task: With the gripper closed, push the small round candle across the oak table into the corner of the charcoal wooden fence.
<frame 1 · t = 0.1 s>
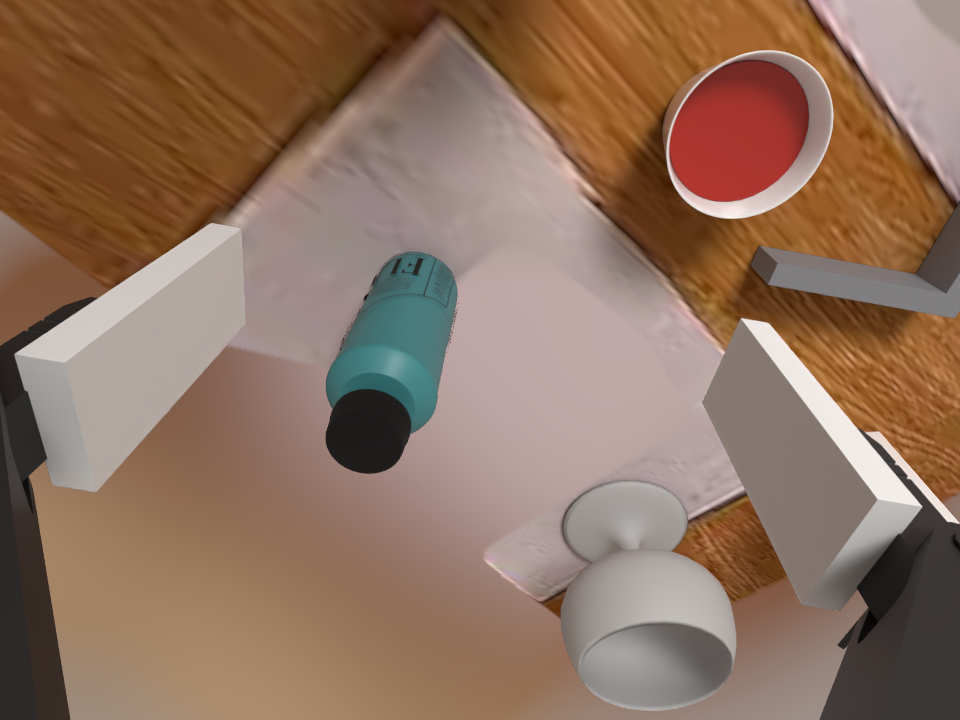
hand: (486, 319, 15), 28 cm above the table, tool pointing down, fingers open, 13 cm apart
beverage bottle: (421, 281, 45), on the table
chalice: (623, 521, 57), on the table
candle: (714, 122, 38), on the table
milk: (835, 457, 52), on the table
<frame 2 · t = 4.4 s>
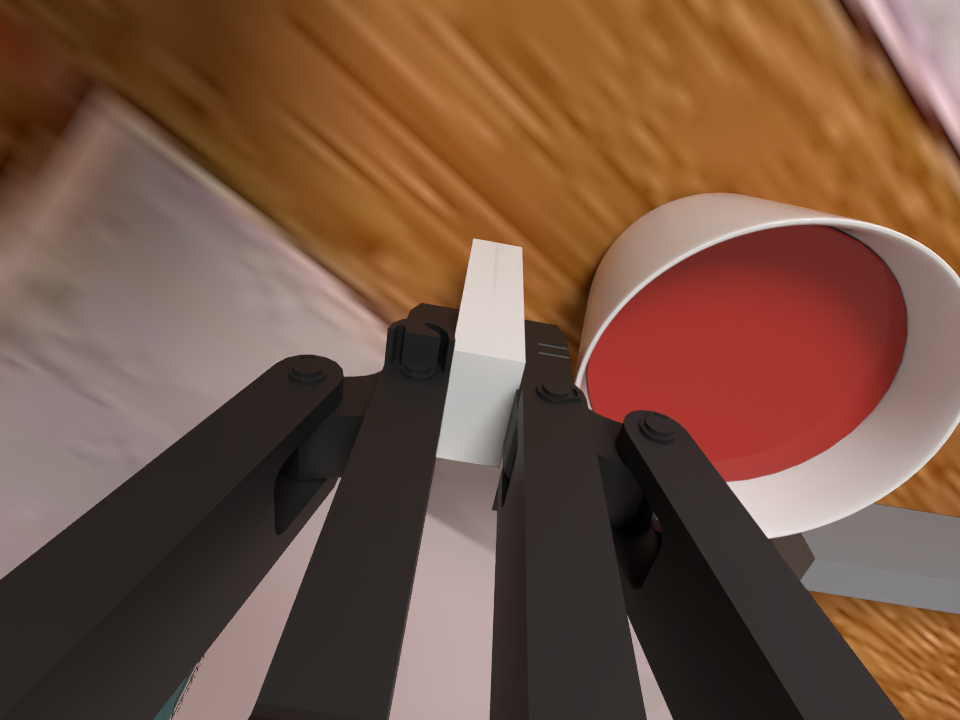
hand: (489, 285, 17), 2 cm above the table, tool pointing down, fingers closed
beverage bottle: (190, 521, 26), on the table
candle: (692, 293, 19), on the table, touching gripper
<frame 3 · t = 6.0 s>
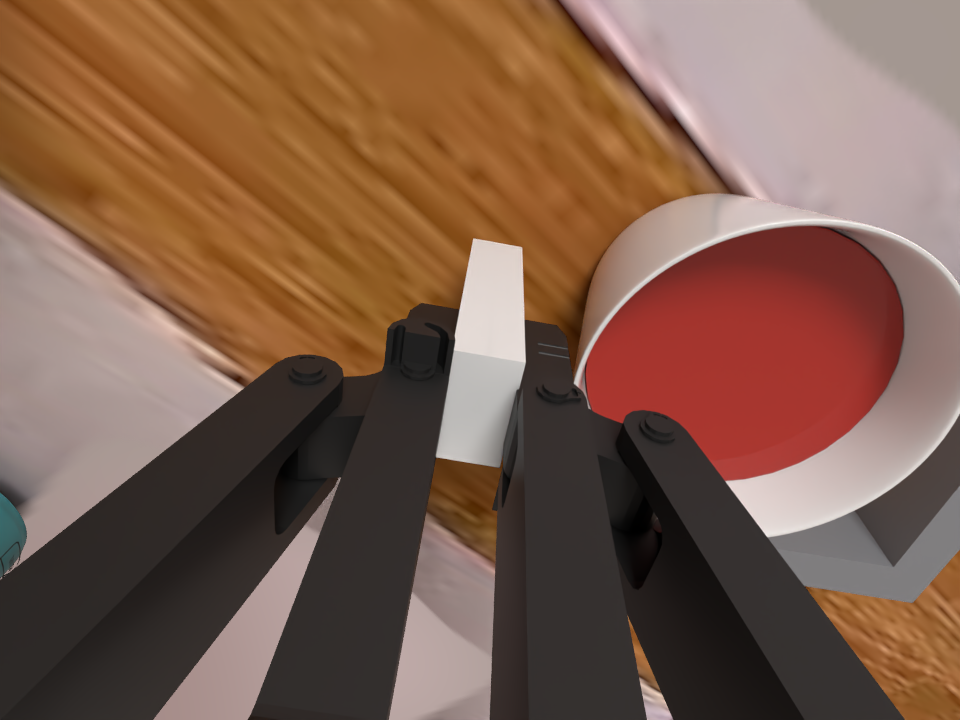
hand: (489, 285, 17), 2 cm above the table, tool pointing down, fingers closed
candle: (690, 293, 19), on the table, touching gripper
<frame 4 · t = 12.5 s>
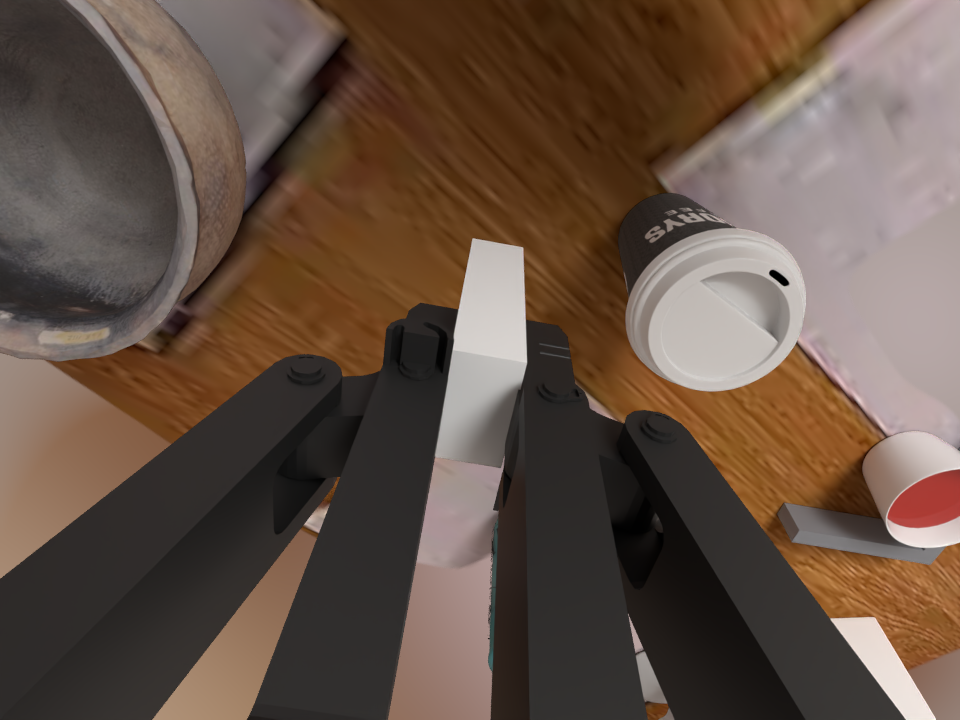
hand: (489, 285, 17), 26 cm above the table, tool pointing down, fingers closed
beverage bottle: (524, 516, 59), on the table
corner fence: (953, 467, 52), on the table
chalice: (669, 670, 71), on the table
candle: (899, 457, 53), on the table
coffee cup: (661, 235, 43), on the table
milk: (840, 632, 65), on the table
ceramic bowl: (138, 124, 41), on the table
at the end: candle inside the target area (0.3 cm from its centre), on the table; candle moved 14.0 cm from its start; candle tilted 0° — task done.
